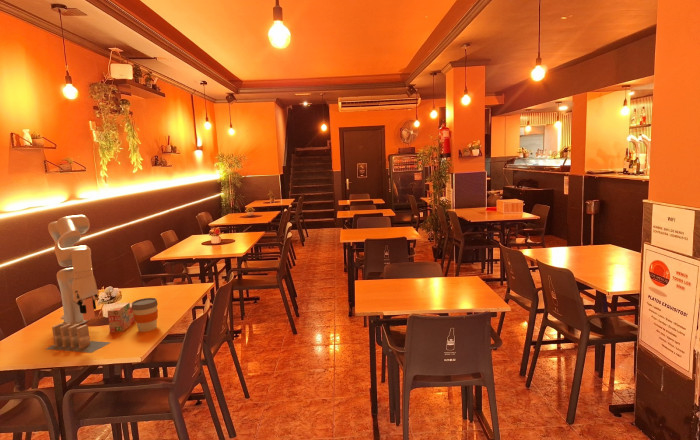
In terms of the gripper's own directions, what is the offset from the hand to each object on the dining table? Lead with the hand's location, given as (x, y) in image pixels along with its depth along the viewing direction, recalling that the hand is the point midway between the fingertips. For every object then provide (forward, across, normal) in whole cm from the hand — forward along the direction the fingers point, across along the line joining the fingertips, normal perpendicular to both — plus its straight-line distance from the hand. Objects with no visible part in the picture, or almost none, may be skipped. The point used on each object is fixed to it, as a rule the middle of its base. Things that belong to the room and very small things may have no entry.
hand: (88, 310), depth 221 cm
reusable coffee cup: (+19, -26, +10) cm, 34 cm away
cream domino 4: (+18, 0, -5) cm, 19 cm away
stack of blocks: (+19, -29, -7) cm, 36 cm away
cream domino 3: (+18, 0, -10) cm, 21 cm away
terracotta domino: (+4, 0, 0) cm, 4 cm away
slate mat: (+19, 0, -9) cm, 21 cm away
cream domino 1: (+18, 0, -20) cm, 27 cm away
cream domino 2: (+18, 0, -15) cm, 24 cm away
